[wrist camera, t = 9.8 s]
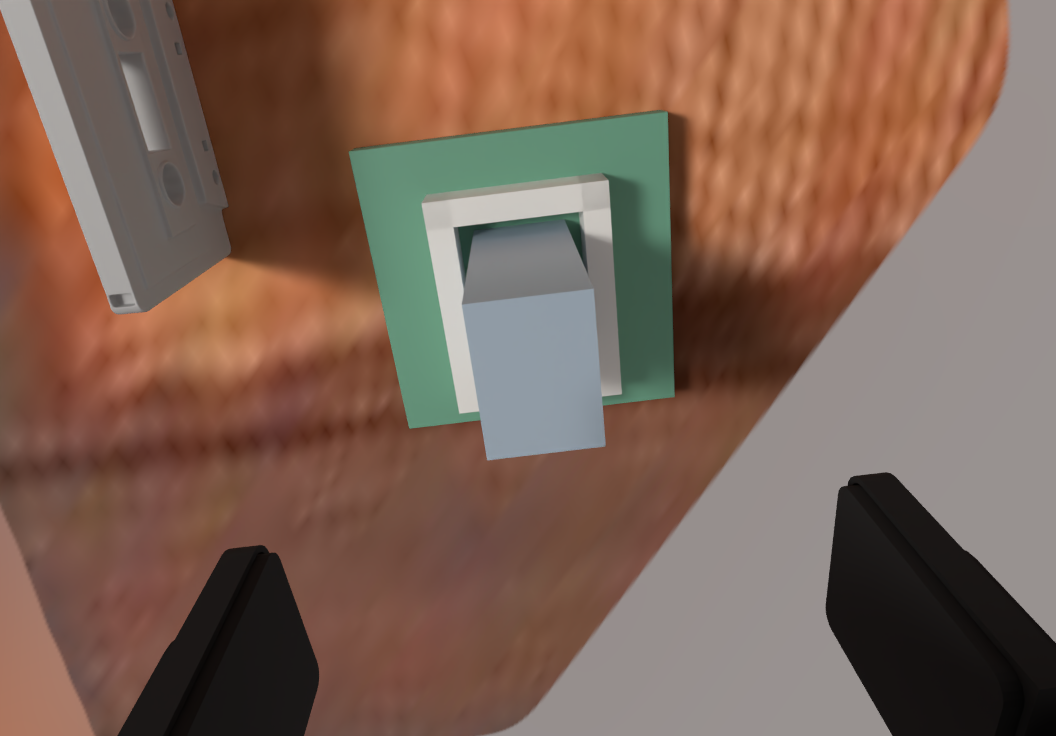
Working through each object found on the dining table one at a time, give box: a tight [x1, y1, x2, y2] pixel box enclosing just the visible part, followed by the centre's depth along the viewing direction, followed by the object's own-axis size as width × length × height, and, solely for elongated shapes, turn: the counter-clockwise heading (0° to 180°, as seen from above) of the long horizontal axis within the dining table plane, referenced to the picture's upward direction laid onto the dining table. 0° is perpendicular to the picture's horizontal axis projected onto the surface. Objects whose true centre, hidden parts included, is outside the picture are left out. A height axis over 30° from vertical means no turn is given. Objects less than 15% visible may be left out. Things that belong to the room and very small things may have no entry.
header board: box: [349, 110, 675, 429], centre depth 27 cm, size 12×12×3 cm
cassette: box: [0, 0, 231, 314], centre depth 21 cm, size 12×2×8 cm, turn 5°
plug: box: [462, 219, 605, 460], centre depth 23 cm, size 6×4×9 cm, turn 6°
